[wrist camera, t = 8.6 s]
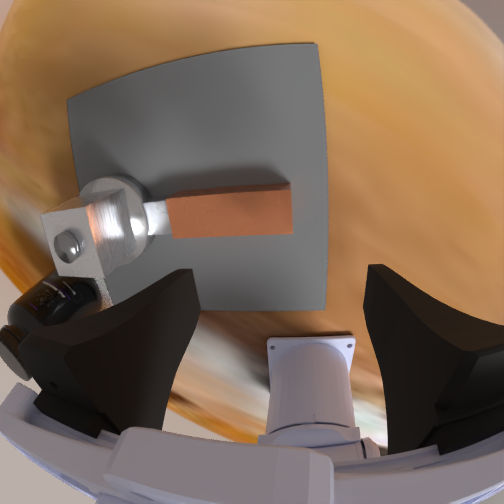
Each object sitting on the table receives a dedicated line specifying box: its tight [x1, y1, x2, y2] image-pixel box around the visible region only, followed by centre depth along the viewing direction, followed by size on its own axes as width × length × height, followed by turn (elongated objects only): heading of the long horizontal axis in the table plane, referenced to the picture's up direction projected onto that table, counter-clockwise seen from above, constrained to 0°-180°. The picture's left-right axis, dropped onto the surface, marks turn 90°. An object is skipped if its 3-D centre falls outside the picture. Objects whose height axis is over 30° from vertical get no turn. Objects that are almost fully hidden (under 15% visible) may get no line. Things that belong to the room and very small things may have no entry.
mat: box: [67, 44, 328, 311], centre depth 20 cm, size 20×20×1 cm
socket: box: [40, 188, 137, 278], centre depth 17 cm, size 5×5×5 cm
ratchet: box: [79, 173, 293, 265], centre depth 18 cm, size 7×17×4 cm, turn 95°
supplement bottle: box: [0, 268, 102, 381], centre depth 20 cm, size 7×7×12 cm
